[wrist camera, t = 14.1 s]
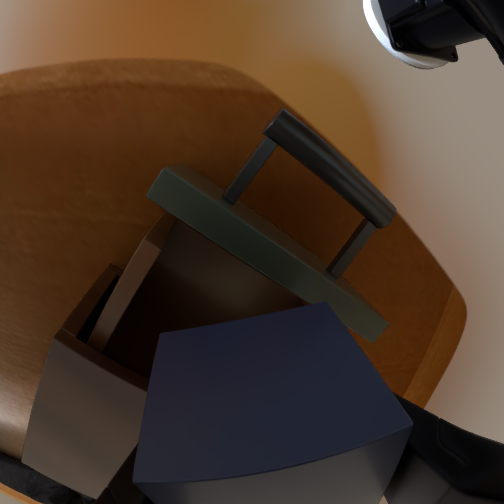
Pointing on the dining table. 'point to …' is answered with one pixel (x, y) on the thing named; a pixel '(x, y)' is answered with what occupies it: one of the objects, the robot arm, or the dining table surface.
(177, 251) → the drawer
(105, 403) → the cabinet
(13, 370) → the dining table surface
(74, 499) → the black flat pad
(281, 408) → the block
